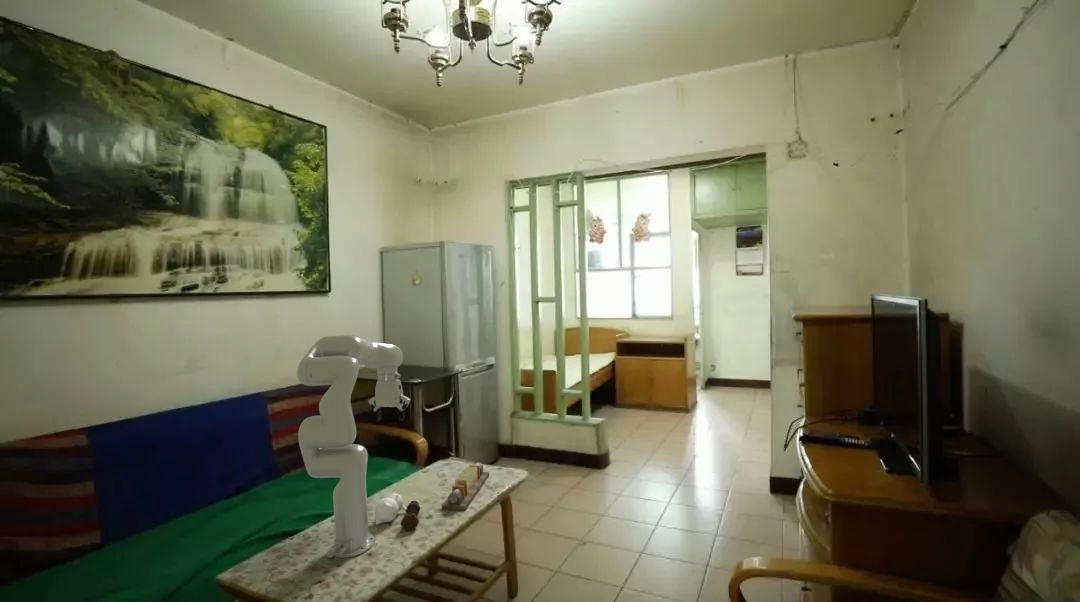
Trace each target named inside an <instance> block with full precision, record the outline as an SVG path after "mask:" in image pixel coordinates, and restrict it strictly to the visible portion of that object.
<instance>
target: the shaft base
mask: <svg viewBox="0 0 1080 602" xmlns="http://www.w3.org/2000/svg"><path fill="white" fill-rule="evenodd" d="M468 467H477V475H478V481H477V482H476V484H475V485H474V486H473V488H472V489H471V491H470V492H469V493H468V495H465V487H464V485H455V484H453V485H452V486H451V492H450V493H449V495H447V498H446V499H445V501H444V502H443V503H442V504H441V510H443V509H447V510H448V511H451V510H452V511H467V509H468V508H469V506H470V505H471V504H472V502H473V500H474V499H475V497H476V496H477V494H478V493H479V491H480V490H481V489H482V487H483V485H484V484H485V482H486V481H487V480H488V478H489V477H490V472H489V471H484V465H483V464H482V463H481V462H476V463H475V464H474V465H473V464H472V465H468ZM486 479H487V480H486Z"/></svg>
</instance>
